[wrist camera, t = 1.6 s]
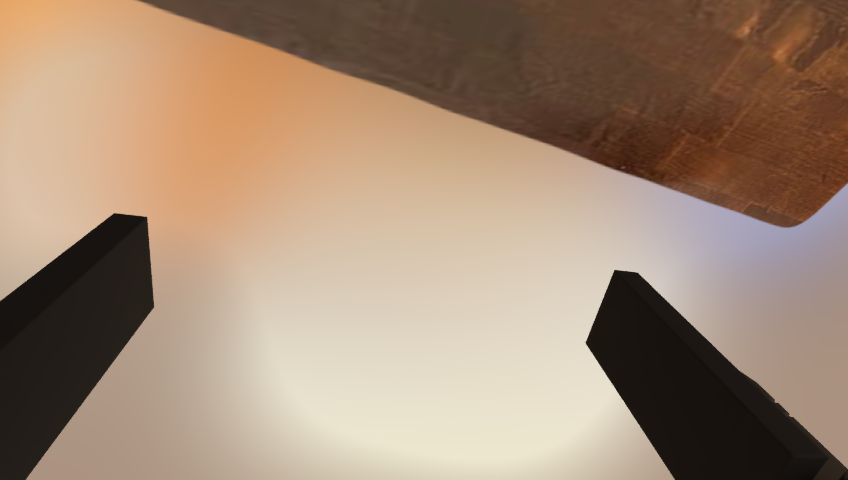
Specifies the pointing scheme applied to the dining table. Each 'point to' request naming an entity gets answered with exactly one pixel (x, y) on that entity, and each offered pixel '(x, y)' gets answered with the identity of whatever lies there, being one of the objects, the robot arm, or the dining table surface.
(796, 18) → the dining table surface
